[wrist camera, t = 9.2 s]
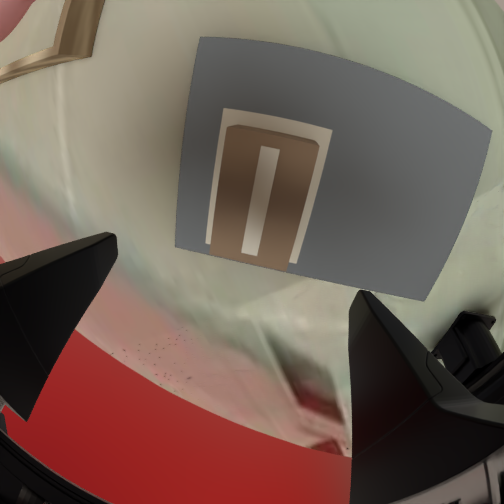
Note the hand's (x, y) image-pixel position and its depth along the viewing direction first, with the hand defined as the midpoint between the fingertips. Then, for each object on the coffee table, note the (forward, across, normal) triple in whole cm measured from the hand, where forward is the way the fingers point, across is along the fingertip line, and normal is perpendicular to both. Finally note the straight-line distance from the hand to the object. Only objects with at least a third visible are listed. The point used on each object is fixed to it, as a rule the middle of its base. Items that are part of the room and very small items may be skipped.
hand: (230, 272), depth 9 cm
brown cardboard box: (+10, 0, 0) cm, 10 cm away
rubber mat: (+11, -5, -2) cm, 12 cm away
